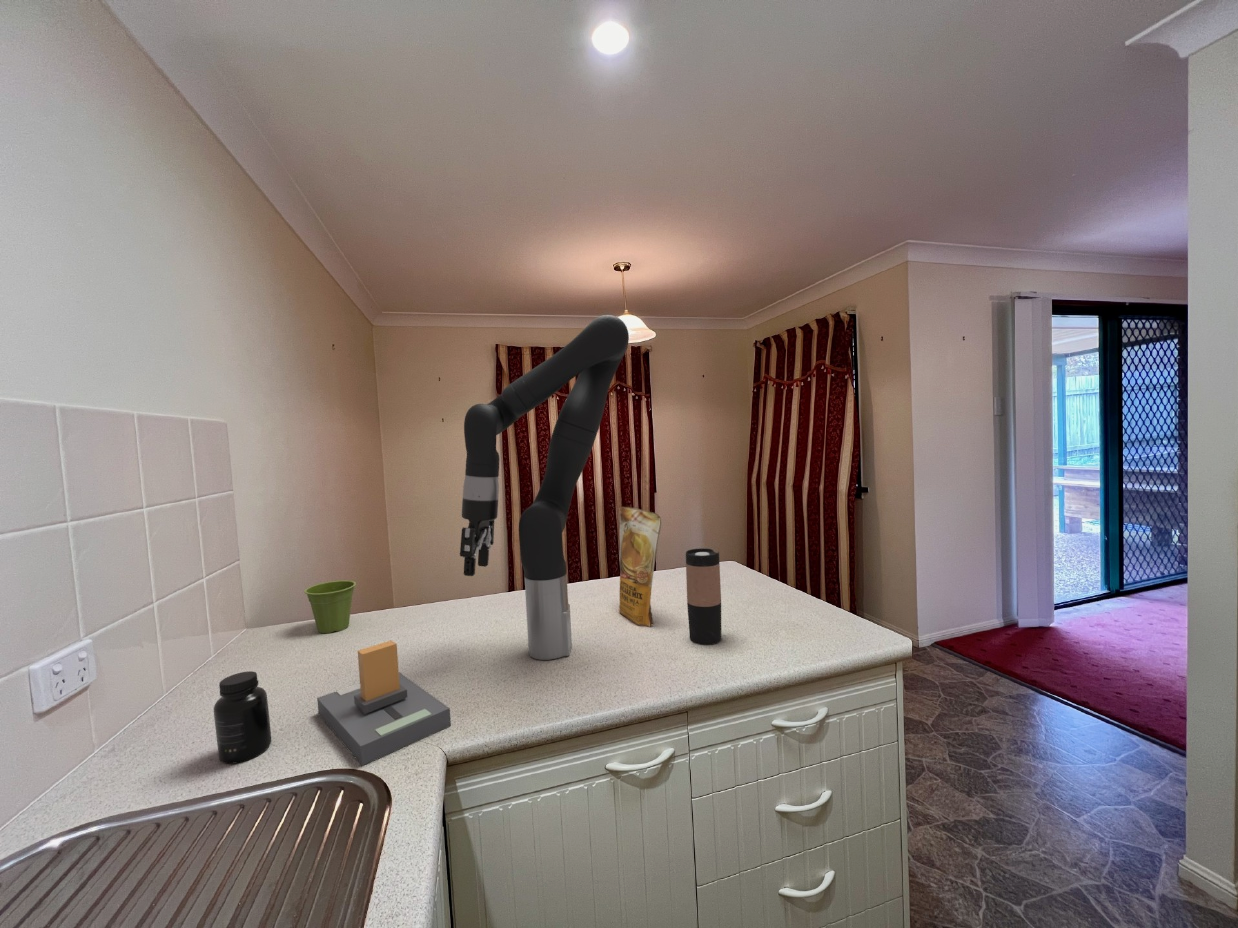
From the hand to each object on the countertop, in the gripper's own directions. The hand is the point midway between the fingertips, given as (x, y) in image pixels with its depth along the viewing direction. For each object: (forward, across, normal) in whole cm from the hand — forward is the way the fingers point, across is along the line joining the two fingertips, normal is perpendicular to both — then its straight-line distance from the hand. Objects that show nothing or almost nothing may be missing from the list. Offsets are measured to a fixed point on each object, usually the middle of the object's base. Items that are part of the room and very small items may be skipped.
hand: (476, 570), depth 113 cm
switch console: (+20, -25, +6) cm, 33 cm away
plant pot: (+24, +19, +44) cm, 53 cm away
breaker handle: (+17, -25, +7) cm, 31 cm away
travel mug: (+13, +8, -52) cm, 54 cm away
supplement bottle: (+23, -34, +24) cm, 47 cm away
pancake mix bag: (+15, +23, -36) cm, 45 cm away
